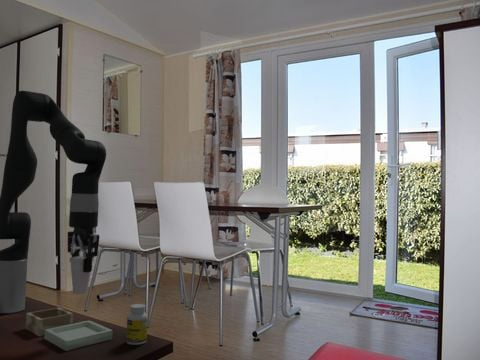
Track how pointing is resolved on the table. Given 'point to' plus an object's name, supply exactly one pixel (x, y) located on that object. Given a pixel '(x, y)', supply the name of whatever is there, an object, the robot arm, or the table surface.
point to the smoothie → (79, 275)
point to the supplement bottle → (137, 325)
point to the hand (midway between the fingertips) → (81, 270)
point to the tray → (77, 335)
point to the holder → (47, 320)
